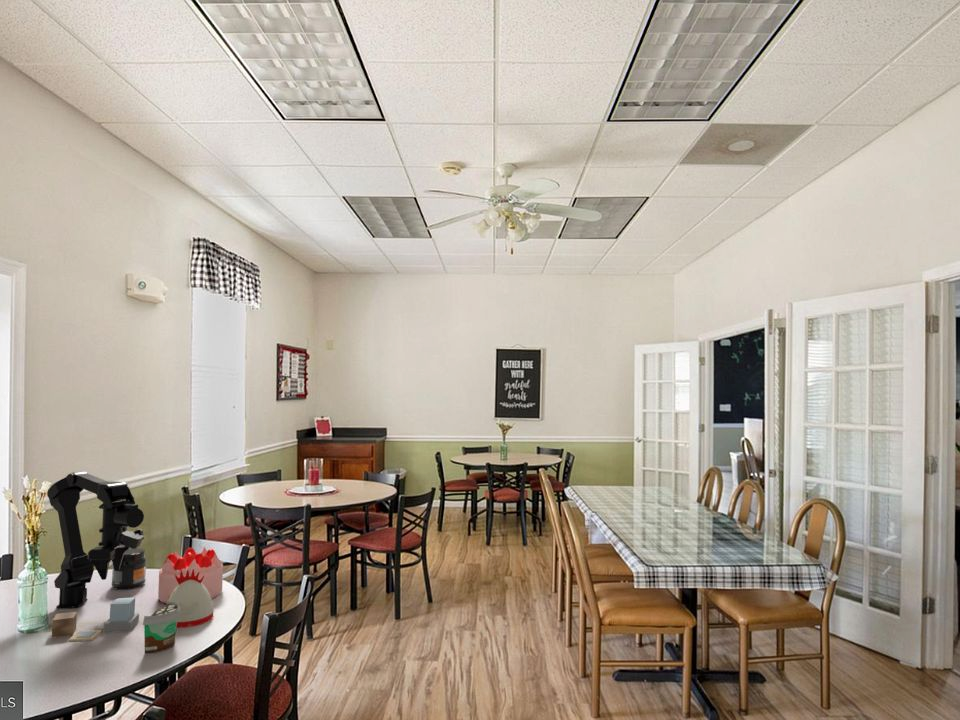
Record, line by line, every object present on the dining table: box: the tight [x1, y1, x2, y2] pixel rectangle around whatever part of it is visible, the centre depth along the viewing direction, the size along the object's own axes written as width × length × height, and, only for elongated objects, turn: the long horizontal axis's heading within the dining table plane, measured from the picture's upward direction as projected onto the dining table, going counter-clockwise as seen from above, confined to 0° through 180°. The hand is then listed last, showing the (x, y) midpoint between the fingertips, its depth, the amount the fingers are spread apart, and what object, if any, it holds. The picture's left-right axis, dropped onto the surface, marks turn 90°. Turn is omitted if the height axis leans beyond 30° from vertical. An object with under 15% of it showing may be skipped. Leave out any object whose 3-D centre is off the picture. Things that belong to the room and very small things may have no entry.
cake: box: [157, 546, 224, 605], centre depth 208 cm, size 20×20×14 cm
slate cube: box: [109, 597, 136, 622], centre depth 180 cm, size 5×5×5 cm
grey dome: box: [168, 569, 214, 629], centre depth 187 cm, size 14×14×15 cm
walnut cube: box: [51, 611, 78, 639], centre depth 174 cm, size 5×5×5 cm
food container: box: [142, 602, 181, 654], centre depth 168 cm, size 12×6×10 cm, turn 179°
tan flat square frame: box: [68, 629, 103, 642], centre depth 173 cm, size 6×6×1 cm
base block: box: [103, 613, 140, 634], centre depth 180 cm, size 7×7×3 cm
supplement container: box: [110, 547, 148, 591], centre depth 216 cm, size 10×10×12 cm
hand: (110, 574), depth 190 cm, fingers open, 9 cm apart
